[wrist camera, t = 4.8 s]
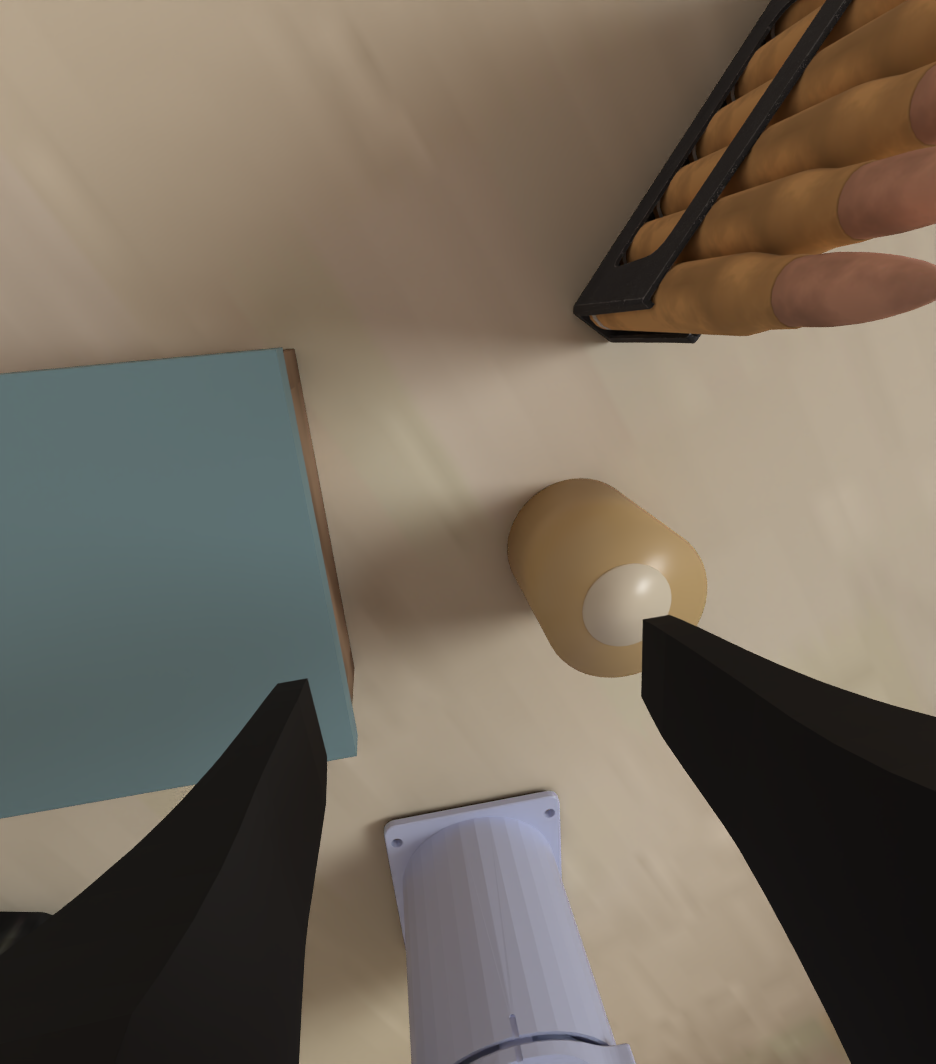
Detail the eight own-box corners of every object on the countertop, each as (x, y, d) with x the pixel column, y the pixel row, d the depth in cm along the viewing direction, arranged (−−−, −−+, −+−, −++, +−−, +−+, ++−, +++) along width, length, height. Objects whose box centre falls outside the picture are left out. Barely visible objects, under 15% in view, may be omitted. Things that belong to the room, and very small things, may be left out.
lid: (357, 734, 19) (356, 756, 18) (-189, 828, 17) (-221, 857, 16) (282, 347, 14) (275, 349, 13) (-476, 417, 12) (-544, 425, 11)
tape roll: (635, 593, 23) (701, 664, 18) (510, 612, 22) (546, 690, 18) (639, 470, 21) (715, 514, 16) (503, 487, 20) (541, 538, 16)
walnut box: (354, 668, 22) (350, 728, 19) (-93, 738, 20) (-181, 819, 17) (294, 348, 18) (276, 356, 14) (-287, 402, 16) (-457, 425, 12)
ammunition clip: (611, 343, 19) (938, 383, 8) (569, 312, 18) (860, 306, 7) (826, 25, 17) (1716, -545, 6) (786, -24, 16) (1692, -767, 5)
